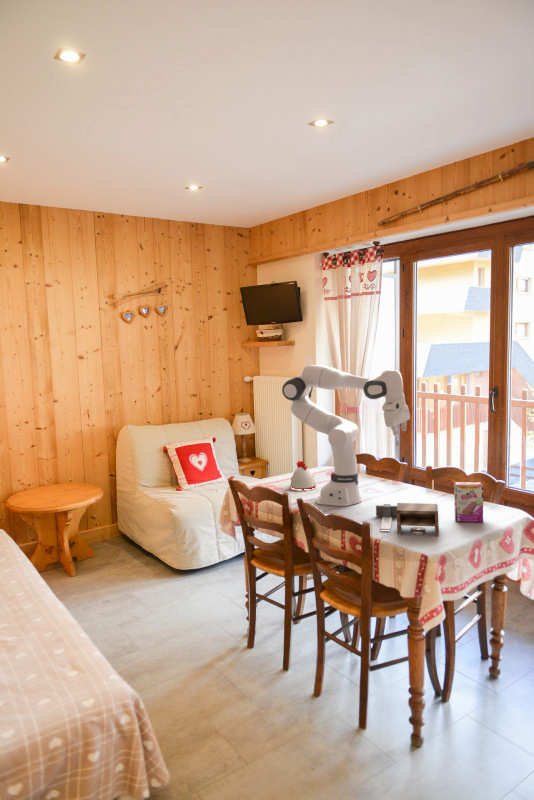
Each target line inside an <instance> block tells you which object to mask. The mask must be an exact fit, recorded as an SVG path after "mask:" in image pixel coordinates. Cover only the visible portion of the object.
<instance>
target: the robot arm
mask: <svg viewBox="0 0 534 800" xmlns="http://www.w3.org/2000/svg"><path fill="white" fill-rule="evenodd" d="M314 387H315V388H319V389H321V390H323V389H324V390H331V391H333V390H334V391H335V390H339V389H341V390H342V389H344V388H345V389H346V388H347V389H349V388H352V389H356V390H363V394H364V396H365V397H366V398H368V399H369V400H378V399H380V398H385V401H384V404H383V405H382V406H381V407H382V411H383V418H384V424H385V426H386V428H390V429H391V431H392V435H393V436H398V435H399V432H398V431H399V430H398V429H397V426H398V425H400V424H401V431H402V432H407V423H408V422H407V421H409V420H411V415H410V414H411V413H410V409H409V406H408V404H407V403H406V395H405V394H404V383H403V377H402V374H401V372H400V371H399V370H397V369H384V370H383V371H382V372H381V373H379V374H378V375H377V376H375V377H365V376H360V375H355V374H351V373H348V372H345V371H342V370H339V369H336V368H334V367H330V366H325V365H320V364H308V365H306V366H305V367H304V368H303V370H302V372H301V375H300V376H295V377H292V378H291V379H288V380H287V381H286V382H285V383H283V386H282V388H281V389H282V390H281V392H282V395H283V396H284V398H286V400H288V401H292V404H291V406H290V412H291V414H292V415H294V416H295V417H296V418H297V419H298V420H299V421H300V422H303V423H304V424H305V425H307V426H308V427H311V428H312V429H313V430H315V431H317V432H318V433H322V434H325V435H327V438H328V439H327V440H328V442H329V443H328V444H330V448H331V452H332V456H333V457H332V458H333V469H334V471H331V473H330V481H328V482H327V483H326V484H324V485H323V486H322V487H321V489H320V493H319V495H317V496H316V499H315V503H316V504H318V505H325V506H327V505H328V506H337V507H348V506H351V505H356V504H359V503H361V502H362V497H361V495H360V490H359V488H360V487H359V482H360V481H359V472H358V466H357V455H356V454H355V449H354V442H355V441H356V440H357V439H358V436H359V434H360V430H359V427H358V425H357V424H356V423H354V422H352V421H349V420H347V419H345V418H343V417H341V416H340V415H339V416H338V415H336V414H333V413H331V412H330V411H328V410H326V409H324V408H323V407H321V406H319V405H318V404H316V403H314V402H313V401H312V400H310V398H311V397H312V392H313V388H314Z"/></svg>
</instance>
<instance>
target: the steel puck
mask: <svg viewBox="0 0 534 800" xmlns="http://www.w3.org/2000/svg"><path fill="white" fill-rule="evenodd" d="M409 531H410V534H412V533H414V534H413V535H415V534H422V535H425V534H426V532H427V531H426V528H425V527H423V526H411V527H410V529H409Z"/></svg>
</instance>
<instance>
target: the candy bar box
mask: <svg viewBox="0 0 534 800" xmlns="http://www.w3.org/2000/svg"><path fill="white" fill-rule="evenodd" d="M453 485H454V487H453V488H454V490H453V491H454V519H455V522H456V523H480V524H481V523H483V522H484V485H483V483H482V482H480V481H479V482H477V481H475V482H472V481H471V482H467V481H465V482H463V481H462V482H461V481H459V482H458V481H456V482H454V484H453Z"/></svg>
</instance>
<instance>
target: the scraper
mask: <svg viewBox="0 0 534 800" xmlns="http://www.w3.org/2000/svg"><path fill="white" fill-rule="evenodd" d="M376 516H379V517H378V518H382V519H381V524H380V530H390V529H392V523H391V522H393V518H397V505H391V504H389V503H383V505H379V504H378V505H375V517H376ZM380 530H379V531H380ZM390 531H391V530H390Z"/></svg>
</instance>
